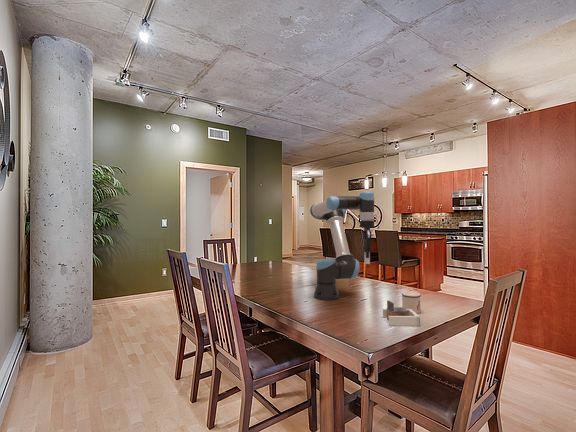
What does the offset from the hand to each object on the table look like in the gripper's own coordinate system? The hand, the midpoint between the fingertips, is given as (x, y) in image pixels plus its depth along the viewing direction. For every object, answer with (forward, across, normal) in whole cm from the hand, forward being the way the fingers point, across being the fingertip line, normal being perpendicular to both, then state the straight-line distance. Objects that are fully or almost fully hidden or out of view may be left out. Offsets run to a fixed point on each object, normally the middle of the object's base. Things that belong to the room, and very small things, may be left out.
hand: (367, 263), depth 168 cm
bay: (+23, -23, -11) cm, 34 cm away
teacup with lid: (+24, -6, -21) cm, 32 cm away
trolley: (+23, -23, -10) cm, 34 cm away
